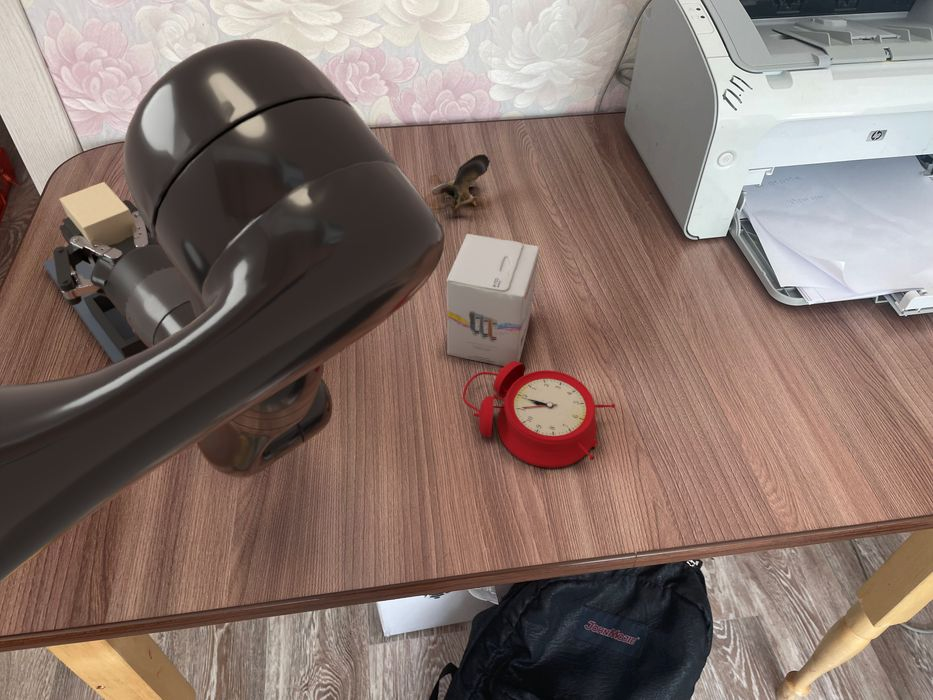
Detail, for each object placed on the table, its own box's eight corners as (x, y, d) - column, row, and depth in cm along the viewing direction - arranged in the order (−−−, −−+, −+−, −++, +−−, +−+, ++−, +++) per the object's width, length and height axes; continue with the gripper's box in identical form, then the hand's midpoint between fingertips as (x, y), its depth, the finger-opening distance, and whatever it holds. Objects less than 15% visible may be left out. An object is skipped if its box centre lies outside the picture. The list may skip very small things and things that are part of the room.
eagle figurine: (492, 217, 97) (501, 170, 102) (464, 182, 92) (475, 135, 97) (447, 231, 101) (458, 186, 106) (418, 199, 96) (430, 153, 101)
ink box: (463, 305, 87) (466, 228, 78) (531, 319, 86) (542, 243, 77) (444, 355, 81) (444, 279, 73) (516, 371, 80) (526, 295, 71)
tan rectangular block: (116, 297, 73) (82, 227, 66) (92, 267, 76) (58, 198, 69) (157, 278, 75) (129, 209, 68) (133, 250, 78) (104, 181, 71)
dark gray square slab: (127, 382, 77) (113, 355, 74) (49, 274, 89) (33, 246, 85) (313, 286, 88) (308, 259, 85) (222, 201, 100) (215, 174, 96)
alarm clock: (594, 468, 67) (455, 394, 69) (571, 496, 72) (442, 426, 74) (624, 391, 74) (497, 325, 75) (601, 421, 79) (482, 358, 80)
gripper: (231, 239, 64) (148, 158, 73) (74, 311, 58) (3, 213, 66) (248, 299, 70) (170, 217, 78) (106, 370, 63) (37, 273, 72)
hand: (94, 215), depth 72 cm, fingers closed on tan rectangular block, 4 cm apart
